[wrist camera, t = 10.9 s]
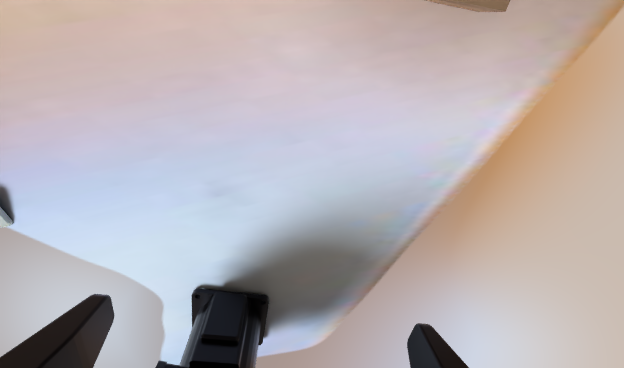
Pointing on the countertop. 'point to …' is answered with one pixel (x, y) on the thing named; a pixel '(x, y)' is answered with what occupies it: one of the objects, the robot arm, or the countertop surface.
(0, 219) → the metal bracket
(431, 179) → the countertop surface
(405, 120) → the countertop surface
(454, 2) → the plate with square hole
